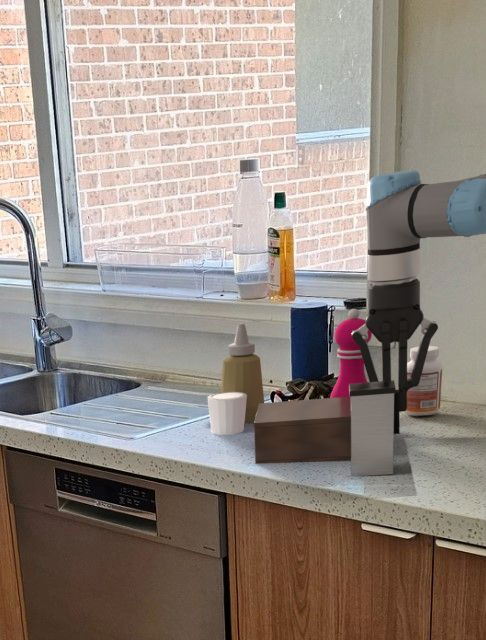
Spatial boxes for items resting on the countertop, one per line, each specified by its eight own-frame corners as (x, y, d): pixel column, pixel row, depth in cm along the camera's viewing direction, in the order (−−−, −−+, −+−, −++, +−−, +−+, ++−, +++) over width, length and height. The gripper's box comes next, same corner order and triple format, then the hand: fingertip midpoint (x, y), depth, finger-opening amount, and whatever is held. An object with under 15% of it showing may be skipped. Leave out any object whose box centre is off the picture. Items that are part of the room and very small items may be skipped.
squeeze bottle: (269, 418, 226) (270, 319, 219) (256, 428, 220) (256, 327, 213) (227, 417, 230) (226, 320, 223) (213, 428, 224) (212, 327, 217)
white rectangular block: (393, 465, 187) (394, 380, 182) (394, 474, 182) (395, 387, 177) (349, 467, 189) (349, 383, 184) (349, 477, 184) (349, 391, 179)
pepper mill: (329, 433, 209) (332, 313, 201) (327, 423, 216) (330, 307, 208) (373, 431, 208) (378, 310, 199) (370, 421, 214) (375, 304, 206)
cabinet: (355, 438, 205) (355, 396, 202) (356, 460, 192) (356, 415, 189) (260, 444, 210) (259, 403, 207) (255, 466, 197) (253, 423, 194)
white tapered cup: (206, 439, 217) (205, 400, 214) (210, 430, 223) (209, 392, 220) (245, 438, 215) (245, 398, 212) (248, 429, 221) (248, 390, 218)
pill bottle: (414, 407, 219) (417, 344, 214) (446, 409, 214) (450, 345, 210) (395, 414, 215) (398, 350, 211) (428, 417, 211) (432, 352, 206)
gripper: (436, 271, 188) (436, 422, 197) (350, 282, 192) (353, 429, 201) (440, 278, 181) (439, 434, 191) (350, 289, 185) (354, 441, 195)
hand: (395, 431), depth 196 cm, fingers closed
